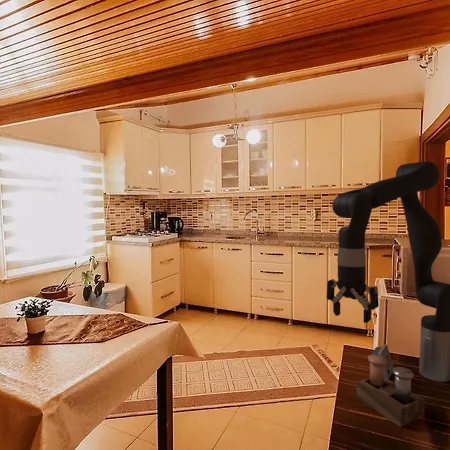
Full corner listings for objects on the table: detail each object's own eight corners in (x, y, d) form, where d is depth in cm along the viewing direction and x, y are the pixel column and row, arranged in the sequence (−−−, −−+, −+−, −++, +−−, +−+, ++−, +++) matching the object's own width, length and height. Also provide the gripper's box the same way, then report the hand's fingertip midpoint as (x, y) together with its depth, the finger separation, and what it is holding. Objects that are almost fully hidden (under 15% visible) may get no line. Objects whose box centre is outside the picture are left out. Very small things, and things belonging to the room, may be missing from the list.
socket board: (378, 389, 105) (379, 374, 105) (424, 416, 92) (424, 399, 91) (356, 397, 101) (356, 381, 101) (400, 427, 87) (400, 409, 87)
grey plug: (399, 390, 96) (400, 365, 95) (416, 399, 91) (417, 373, 90) (387, 394, 93) (388, 369, 93) (404, 404, 89) (405, 378, 88)
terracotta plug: (375, 376, 103) (376, 353, 103) (390, 384, 99) (390, 360, 98) (363, 380, 101) (364, 356, 101) (378, 389, 96) (378, 364, 96)
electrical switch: (388, 381, 110) (386, 354, 110) (372, 377, 113) (369, 351, 113) (394, 370, 117) (392, 344, 117) (378, 367, 121) (376, 342, 121)
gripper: (382, 264, 90) (382, 321, 91) (334, 258, 100) (334, 309, 101) (371, 268, 85) (371, 328, 86) (322, 262, 95) (322, 316, 96)
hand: (351, 318), depth 94 cm, fingers open, 8 cm apart
